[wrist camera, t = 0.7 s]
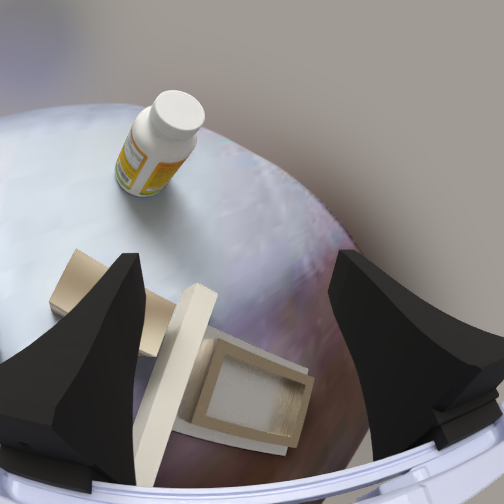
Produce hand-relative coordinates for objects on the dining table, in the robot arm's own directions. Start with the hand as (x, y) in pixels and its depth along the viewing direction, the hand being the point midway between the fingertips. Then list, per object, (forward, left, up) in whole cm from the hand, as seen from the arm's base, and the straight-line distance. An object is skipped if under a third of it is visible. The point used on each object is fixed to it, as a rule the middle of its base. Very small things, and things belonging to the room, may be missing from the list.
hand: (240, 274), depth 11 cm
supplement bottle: (+12, +5, -17) cm, 21 cm away
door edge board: (-6, -4, -16) cm, 18 cm away
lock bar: (-1, +2, -17) cm, 17 cm away
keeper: (-3, -13, -16) cm, 21 cm away
